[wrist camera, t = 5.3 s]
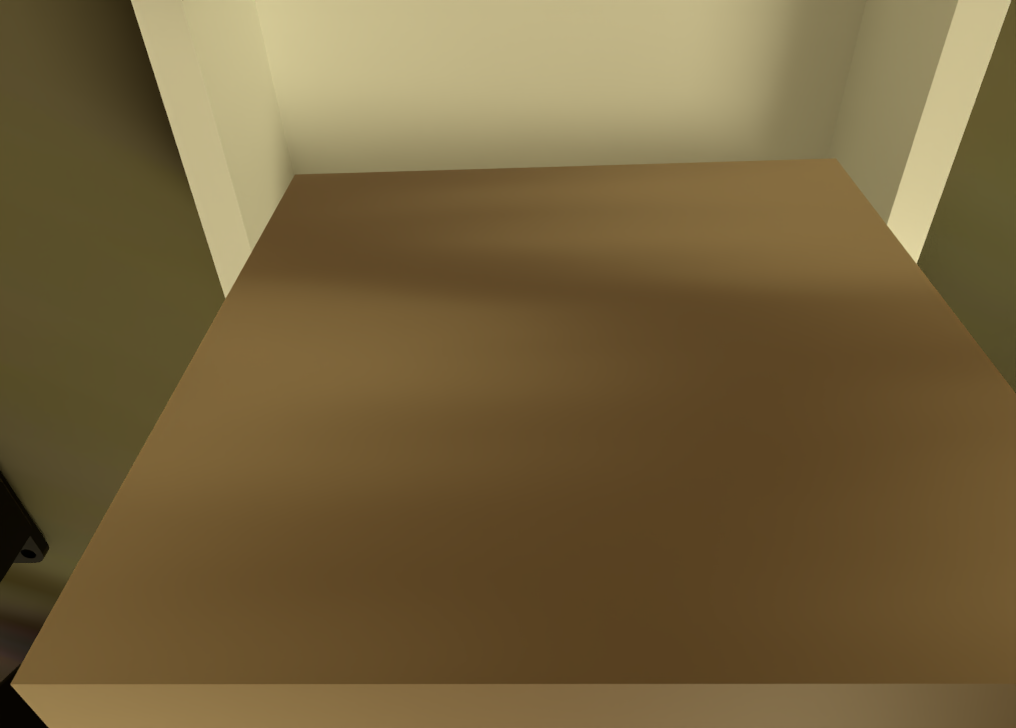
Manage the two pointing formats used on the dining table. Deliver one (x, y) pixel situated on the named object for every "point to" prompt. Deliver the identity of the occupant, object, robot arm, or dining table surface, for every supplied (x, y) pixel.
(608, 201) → the maple block
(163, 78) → the tote
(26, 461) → the dining table surface
